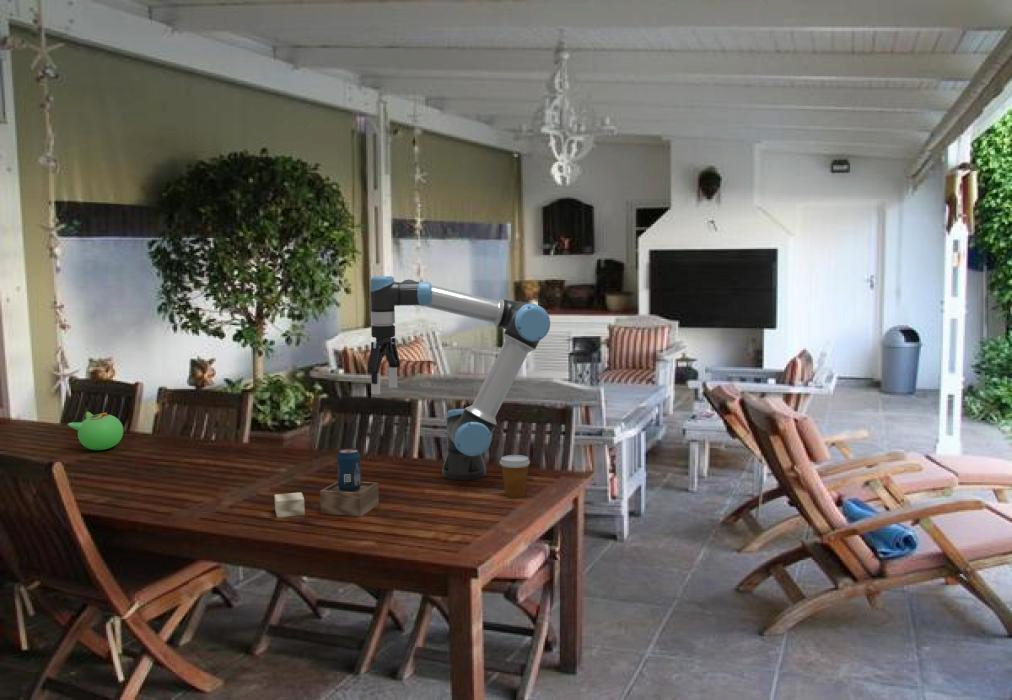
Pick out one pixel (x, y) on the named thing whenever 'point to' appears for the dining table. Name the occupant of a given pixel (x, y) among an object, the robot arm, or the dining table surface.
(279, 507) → the beech block
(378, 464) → the dining table surface
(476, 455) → the robot arm
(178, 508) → the dining table surface
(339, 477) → the soda can
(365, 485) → the wooden crate
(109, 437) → the toy bird
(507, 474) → the disposable coffee cup
